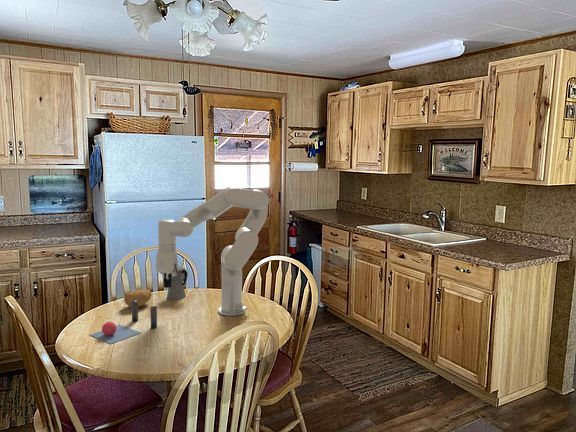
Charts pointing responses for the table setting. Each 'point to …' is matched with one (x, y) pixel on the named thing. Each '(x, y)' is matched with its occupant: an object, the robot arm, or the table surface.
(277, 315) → the table surface
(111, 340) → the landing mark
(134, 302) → the post
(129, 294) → the potato
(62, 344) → the table surface
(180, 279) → the coffeepot
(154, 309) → the post
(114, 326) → the ball
